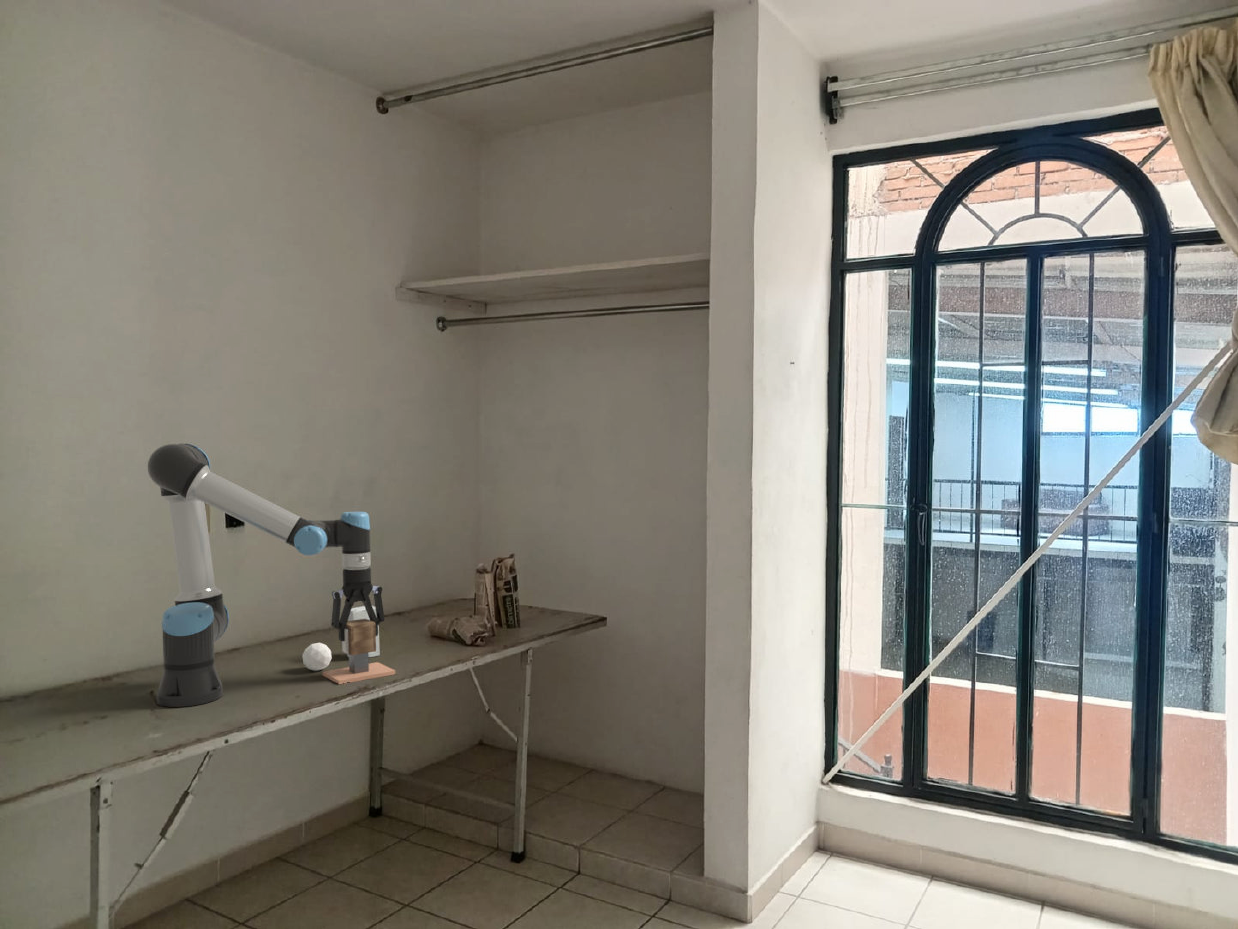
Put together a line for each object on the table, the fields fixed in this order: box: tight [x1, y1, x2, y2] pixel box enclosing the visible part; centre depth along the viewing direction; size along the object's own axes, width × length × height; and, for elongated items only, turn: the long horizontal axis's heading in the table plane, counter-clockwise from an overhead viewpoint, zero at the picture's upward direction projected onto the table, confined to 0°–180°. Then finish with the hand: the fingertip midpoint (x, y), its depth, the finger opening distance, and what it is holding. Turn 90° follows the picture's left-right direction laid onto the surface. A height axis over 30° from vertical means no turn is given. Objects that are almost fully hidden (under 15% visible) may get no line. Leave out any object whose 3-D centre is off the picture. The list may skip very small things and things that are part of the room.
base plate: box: [322, 662, 396, 685], centre depth 251 cm, size 16×12×1 cm
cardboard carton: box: [345, 619, 376, 655], centre depth 250 cm, size 7×7×8 cm
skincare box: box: [346, 605, 381, 658], centre depth 271 cm, size 8×6×15 cm
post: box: [348, 653, 370, 674], centre depth 250 cm, size 4×4×6 cm
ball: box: [301, 642, 332, 672], centre depth 256 cm, size 8×8×8 cm
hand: (358, 650), depth 250 cm, fingers closed on cardboard carton, 7 cm apart
